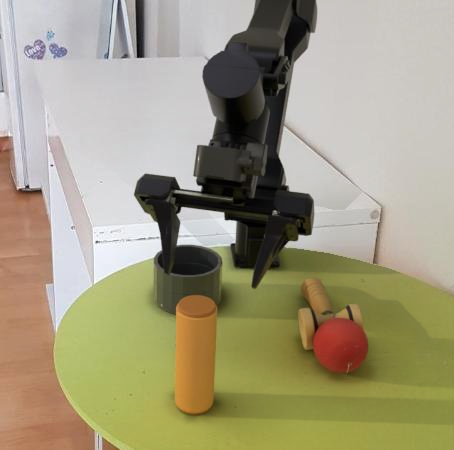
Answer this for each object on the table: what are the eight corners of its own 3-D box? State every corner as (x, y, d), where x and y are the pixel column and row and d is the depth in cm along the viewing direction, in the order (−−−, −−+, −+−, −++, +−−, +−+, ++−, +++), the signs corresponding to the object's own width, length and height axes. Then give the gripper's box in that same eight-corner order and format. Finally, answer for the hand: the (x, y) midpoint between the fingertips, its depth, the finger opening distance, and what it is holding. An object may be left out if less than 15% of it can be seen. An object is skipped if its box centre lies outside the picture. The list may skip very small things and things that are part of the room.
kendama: (275, 308, 97) (304, 377, 80) (286, 263, 96) (319, 324, 79) (332, 316, 99) (373, 387, 81) (344, 272, 97) (388, 334, 80)
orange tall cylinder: (174, 391, 80) (175, 293, 74) (212, 390, 80) (216, 293, 75) (175, 416, 76) (176, 315, 71) (214, 415, 76) (219, 315, 71)
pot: (153, 281, 100) (153, 244, 98) (218, 280, 101) (219, 244, 99) (153, 316, 93) (153, 277, 90) (223, 315, 93) (224, 277, 91)
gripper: (138, 100, 77) (102, 243, 72) (322, 118, 73) (296, 271, 68) (161, 148, 87) (130, 276, 82) (322, 167, 83) (301, 302, 78)
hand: (209, 281), depth 77 cm, fingers open, 9 cm apart
